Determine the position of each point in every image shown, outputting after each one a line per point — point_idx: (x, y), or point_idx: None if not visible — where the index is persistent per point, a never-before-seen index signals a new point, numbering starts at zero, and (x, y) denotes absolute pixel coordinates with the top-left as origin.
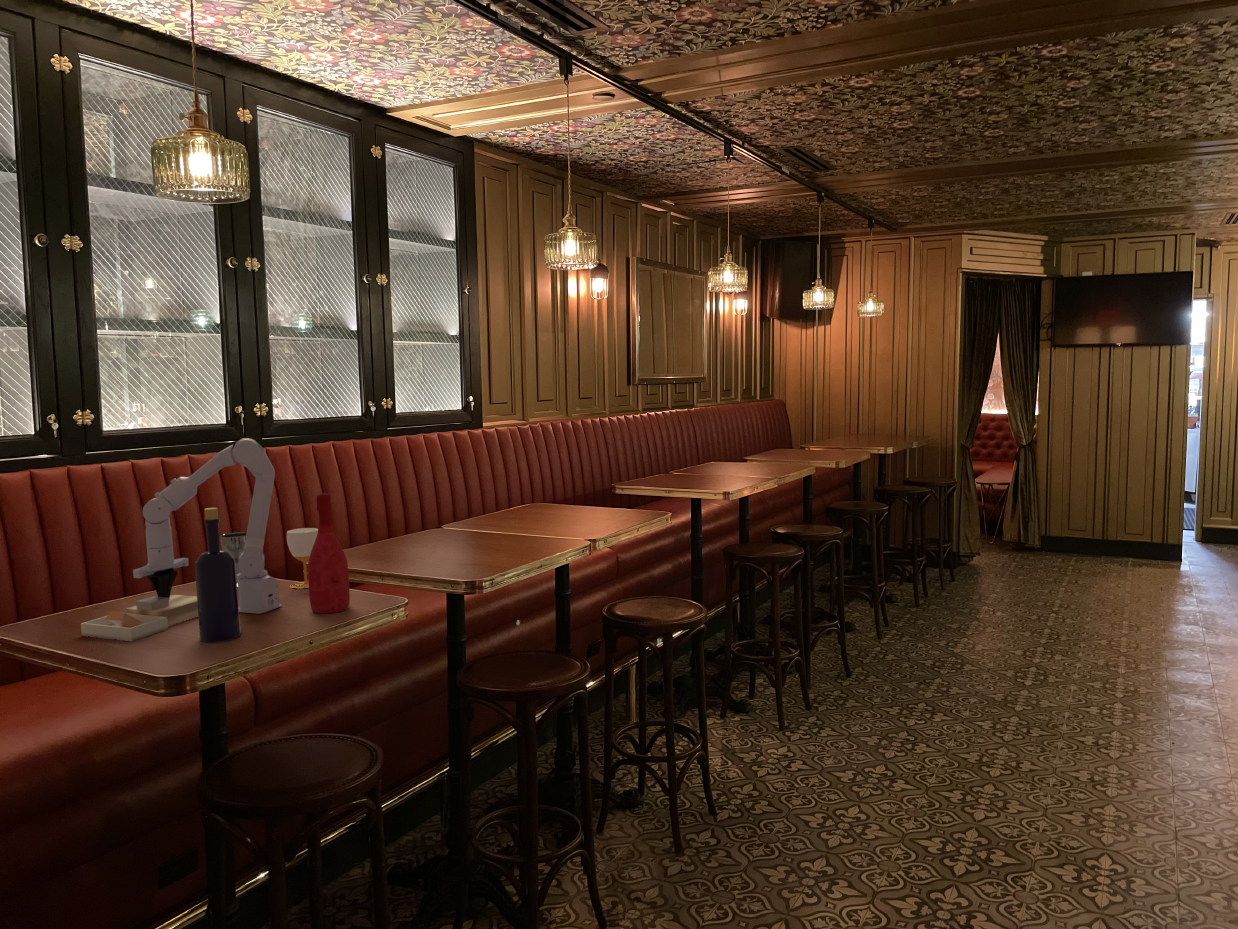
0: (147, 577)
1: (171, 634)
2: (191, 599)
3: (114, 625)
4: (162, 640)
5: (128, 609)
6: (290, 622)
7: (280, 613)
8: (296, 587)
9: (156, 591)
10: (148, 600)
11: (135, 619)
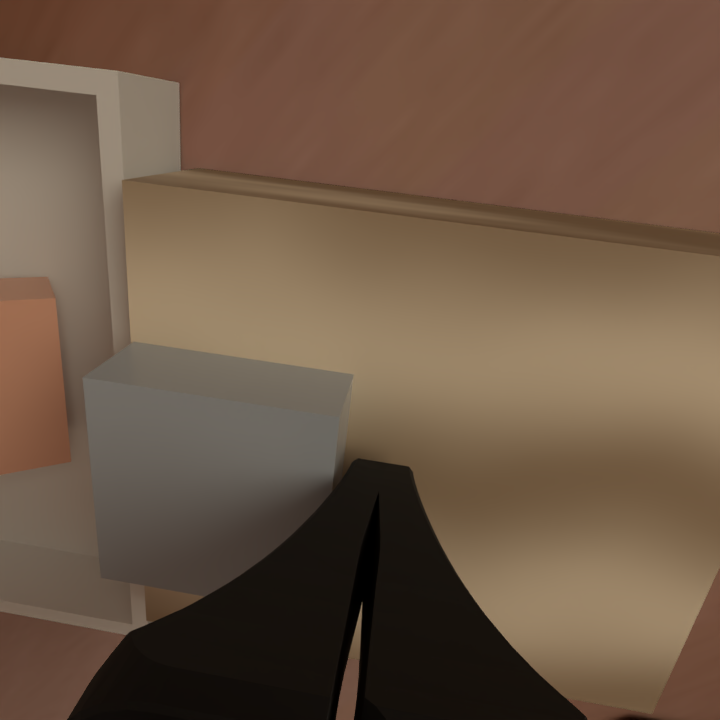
0: (126, 645)
1: (117, 641)
2: (574, 616)
3: (67, 142)
4: (22, 658)
5: (128, 218)
6: None
7: None
8: None
9: (317, 514)
10: (157, 496)
11: (2, 470)
